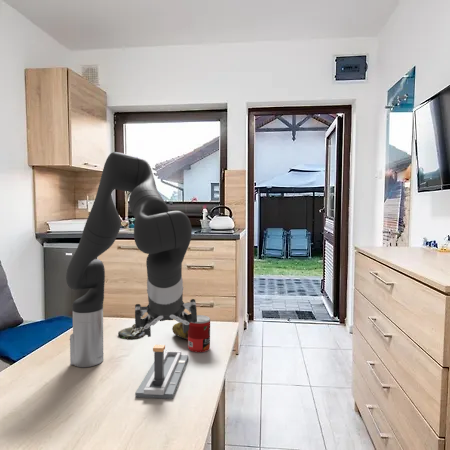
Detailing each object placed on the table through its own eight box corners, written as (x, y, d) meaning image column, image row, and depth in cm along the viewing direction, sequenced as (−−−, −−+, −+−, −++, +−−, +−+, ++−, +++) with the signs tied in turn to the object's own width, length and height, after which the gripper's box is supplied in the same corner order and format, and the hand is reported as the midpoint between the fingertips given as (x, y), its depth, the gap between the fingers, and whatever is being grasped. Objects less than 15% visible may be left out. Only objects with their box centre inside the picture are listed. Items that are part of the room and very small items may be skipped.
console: (134, 398, 92) (134, 389, 92) (159, 357, 118) (158, 350, 118) (172, 399, 92) (172, 390, 92) (188, 358, 118) (188, 351, 117)
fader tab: (152, 385, 96) (152, 348, 96) (155, 379, 99) (155, 344, 99) (162, 385, 96) (162, 348, 96) (165, 380, 99) (165, 344, 99)
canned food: (207, 353, 121) (207, 322, 121) (185, 351, 123) (185, 320, 122) (212, 345, 129) (212, 315, 128) (191, 343, 130) (191, 314, 130)
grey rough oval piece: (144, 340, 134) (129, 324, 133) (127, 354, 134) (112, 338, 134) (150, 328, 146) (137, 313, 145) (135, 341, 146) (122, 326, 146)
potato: (192, 332, 143) (192, 312, 142) (198, 344, 130) (198, 322, 130) (171, 334, 140) (171, 314, 140) (175, 346, 128) (175, 324, 128)
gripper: (196, 273, 80) (194, 316, 90) (131, 278, 77) (137, 321, 88) (200, 300, 74) (197, 342, 85) (130, 306, 72) (136, 348, 82)
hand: (166, 331), depth 86 cm, fingers open, 8 cm apart
